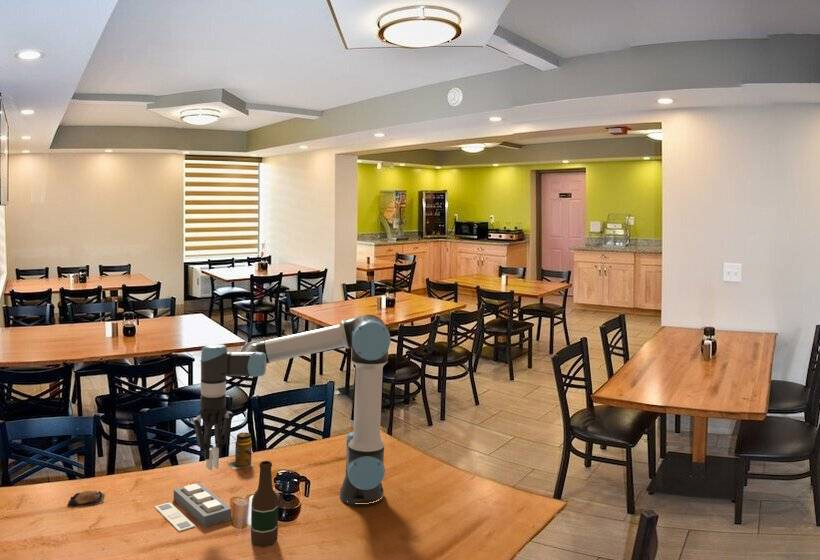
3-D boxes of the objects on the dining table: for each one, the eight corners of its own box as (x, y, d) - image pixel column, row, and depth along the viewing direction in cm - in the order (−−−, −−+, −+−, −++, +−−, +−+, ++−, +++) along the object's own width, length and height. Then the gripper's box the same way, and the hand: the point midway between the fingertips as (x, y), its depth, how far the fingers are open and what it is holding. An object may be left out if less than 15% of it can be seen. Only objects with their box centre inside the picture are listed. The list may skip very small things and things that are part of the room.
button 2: (221, 511, 198) (221, 504, 197) (208, 515, 195) (208, 508, 194) (215, 506, 201) (215, 499, 201) (202, 510, 198) (202, 502, 198)
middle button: (211, 503, 203) (211, 495, 203) (198, 506, 200) (198, 499, 200) (205, 498, 206) (205, 491, 206) (192, 501, 203) (192, 494, 203)
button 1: (201, 495, 209) (201, 487, 208) (188, 498, 206) (188, 491, 205) (196, 490, 212) (196, 483, 212) (183, 493, 209) (183, 486, 209)
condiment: (254, 466, 240) (255, 435, 239) (232, 470, 235) (233, 439, 234) (248, 459, 246) (249, 430, 245) (227, 463, 241) (227, 433, 240)
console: (231, 519, 198) (231, 508, 197) (204, 527, 192) (204, 516, 191) (199, 492, 215) (199, 482, 215) (173, 499, 209) (173, 489, 209)
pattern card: (195, 526, 192) (195, 525, 192) (178, 531, 188) (179, 530, 188) (169, 503, 207) (169, 501, 206) (154, 507, 203) (154, 506, 203)
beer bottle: (252, 534, 189) (254, 457, 187) (279, 534, 190) (280, 457, 187) (248, 547, 181) (250, 467, 179) (275, 547, 182) (277, 467, 180)
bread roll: (105, 495, 212) (105, 484, 212) (103, 505, 204) (103, 494, 204) (70, 498, 208) (70, 488, 208) (66, 509, 200) (66, 498, 200)
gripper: (229, 388, 202) (228, 458, 204) (185, 395, 192) (185, 469, 194) (240, 393, 196) (239, 466, 198) (195, 401, 187) (195, 477, 189)
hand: (212, 467), depth 196 cm, fingers closed
